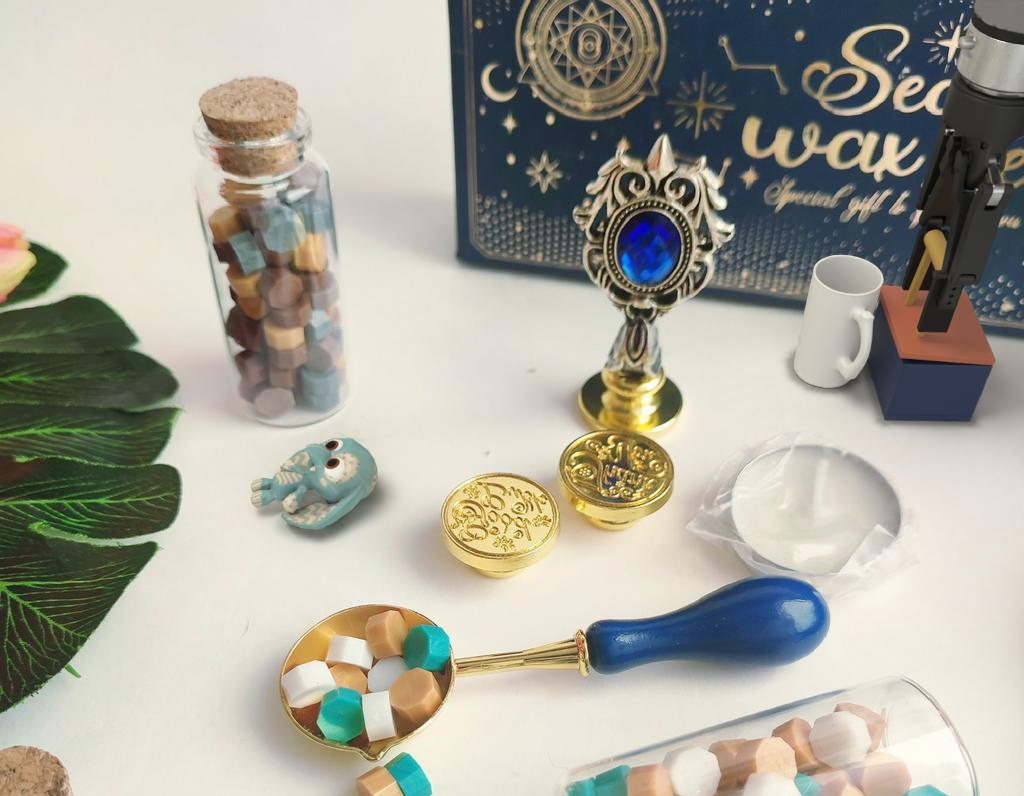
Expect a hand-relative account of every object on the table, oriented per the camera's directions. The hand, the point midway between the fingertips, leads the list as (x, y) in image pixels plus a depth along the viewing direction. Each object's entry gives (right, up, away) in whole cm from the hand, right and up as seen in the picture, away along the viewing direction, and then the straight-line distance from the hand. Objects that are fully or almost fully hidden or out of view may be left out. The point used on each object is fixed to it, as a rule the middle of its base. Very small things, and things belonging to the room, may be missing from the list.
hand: (923, 308), depth 105 cm
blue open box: (+2, -7, +7) cm, 10 cm away
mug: (-7, -6, +8) cm, 12 cm away
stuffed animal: (-59, -19, -3) cm, 62 cm away
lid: (+2, -2, +2) cm, 3 cm away
